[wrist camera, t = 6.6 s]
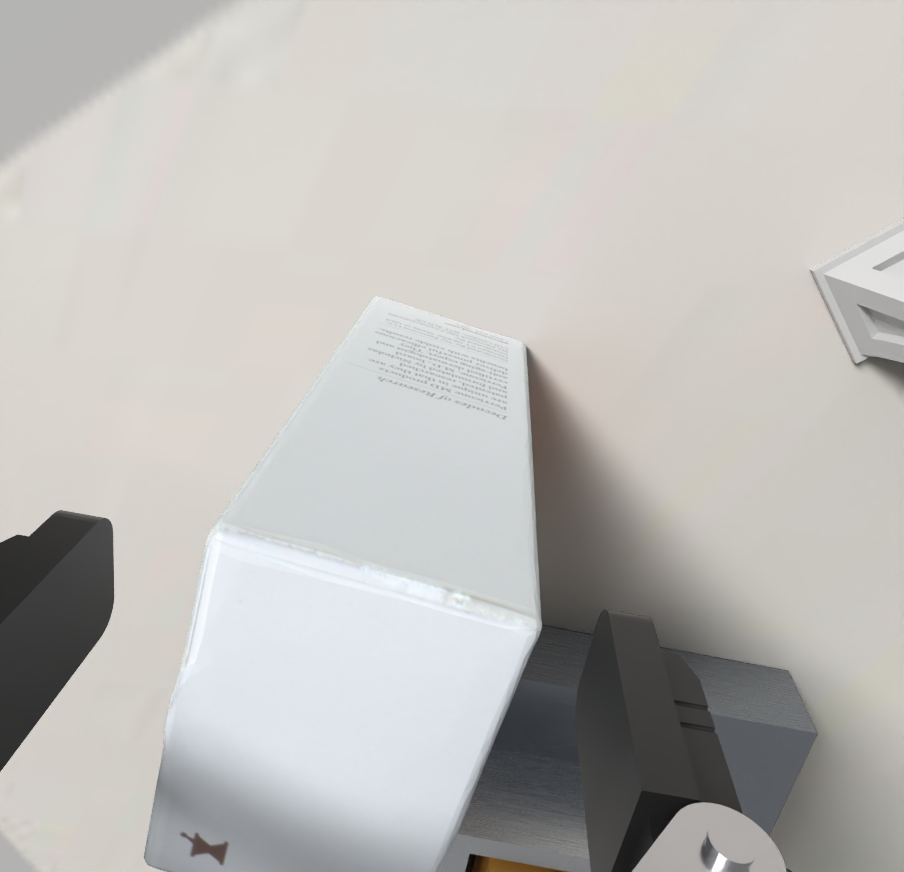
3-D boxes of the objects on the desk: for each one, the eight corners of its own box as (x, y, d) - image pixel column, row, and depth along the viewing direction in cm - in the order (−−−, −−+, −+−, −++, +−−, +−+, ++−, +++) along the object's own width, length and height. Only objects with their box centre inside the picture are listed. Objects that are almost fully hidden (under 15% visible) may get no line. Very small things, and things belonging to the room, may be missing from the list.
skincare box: (465, 531, 22) (412, 952, 11) (321, 488, 22) (127, 873, 11) (535, 335, 20) (554, 632, 9) (374, 285, 20) (190, 524, 9)
